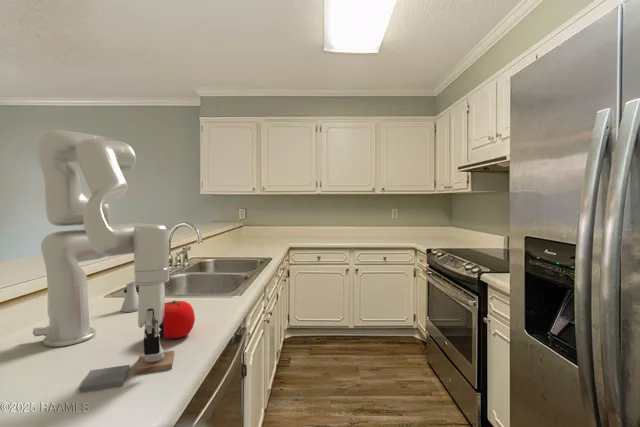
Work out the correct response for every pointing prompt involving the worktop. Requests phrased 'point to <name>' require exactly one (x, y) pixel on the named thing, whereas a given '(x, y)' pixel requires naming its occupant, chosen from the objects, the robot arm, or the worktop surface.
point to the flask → (130, 298)
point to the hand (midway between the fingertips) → (154, 345)
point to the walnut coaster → (154, 364)
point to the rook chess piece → (155, 357)
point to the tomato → (178, 319)
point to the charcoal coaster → (104, 378)
